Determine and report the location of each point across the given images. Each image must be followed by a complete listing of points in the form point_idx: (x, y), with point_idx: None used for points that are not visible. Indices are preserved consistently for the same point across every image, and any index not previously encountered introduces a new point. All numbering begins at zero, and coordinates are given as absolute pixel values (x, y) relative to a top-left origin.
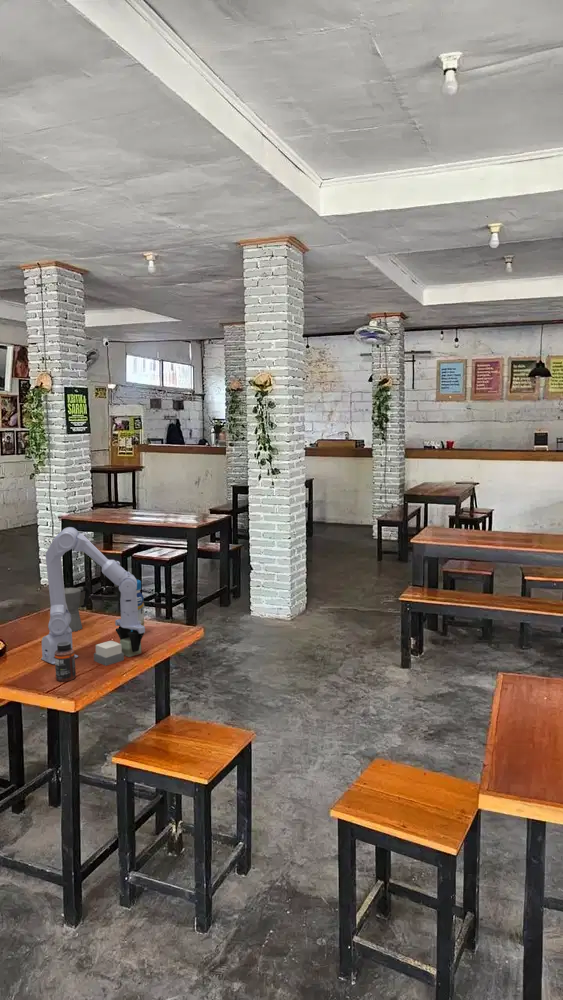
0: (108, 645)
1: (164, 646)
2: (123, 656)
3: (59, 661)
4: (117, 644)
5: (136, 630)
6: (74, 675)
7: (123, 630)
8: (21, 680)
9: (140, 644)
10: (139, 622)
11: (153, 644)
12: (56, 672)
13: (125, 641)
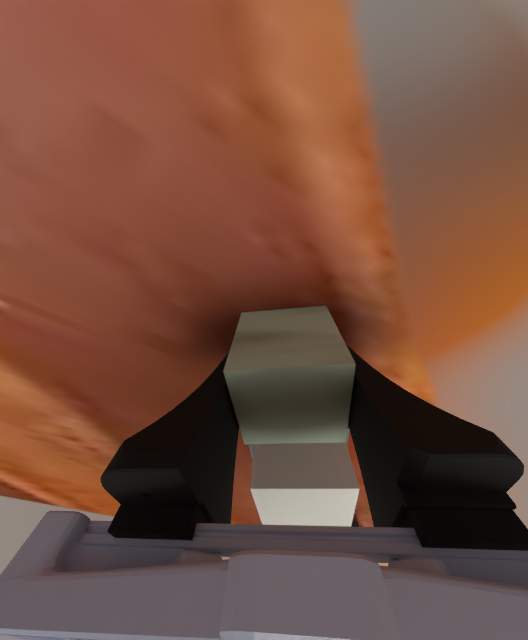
0: (319, 514)
1: (340, 51)
2: None
3: None
4: (345, 497)
5: (474, 558)
6: (356, 520)
7: (221, 498)
8: None
9: (342, 340)
10: (388, 621)
11: (216, 121)
12: None
13: (305, 441)
